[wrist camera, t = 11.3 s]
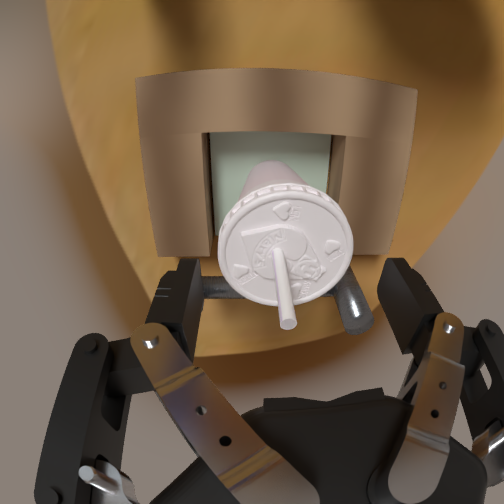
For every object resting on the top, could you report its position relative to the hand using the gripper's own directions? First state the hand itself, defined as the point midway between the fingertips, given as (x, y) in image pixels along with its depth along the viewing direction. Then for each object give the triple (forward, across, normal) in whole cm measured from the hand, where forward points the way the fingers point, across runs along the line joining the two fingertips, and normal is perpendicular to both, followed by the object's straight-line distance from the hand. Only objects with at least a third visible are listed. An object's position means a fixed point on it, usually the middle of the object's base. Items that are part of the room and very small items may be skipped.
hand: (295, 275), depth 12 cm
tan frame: (+11, 0, -2) cm, 11 cm away
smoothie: (+11, 0, 0) cm, 11 cm away
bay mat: (+11, 0, 0) cm, 11 cm away
